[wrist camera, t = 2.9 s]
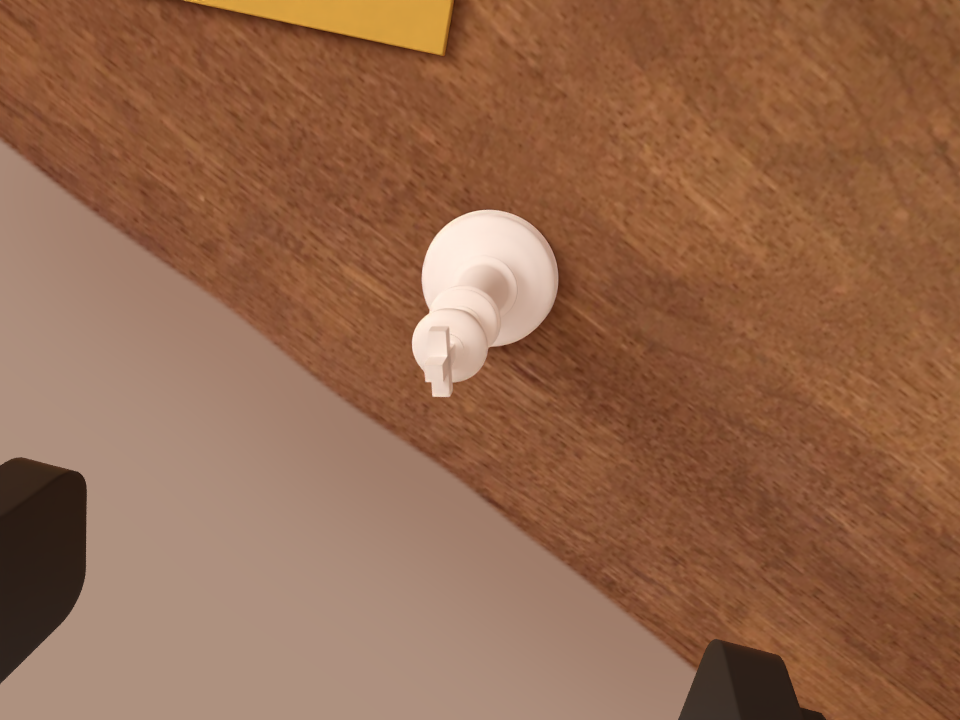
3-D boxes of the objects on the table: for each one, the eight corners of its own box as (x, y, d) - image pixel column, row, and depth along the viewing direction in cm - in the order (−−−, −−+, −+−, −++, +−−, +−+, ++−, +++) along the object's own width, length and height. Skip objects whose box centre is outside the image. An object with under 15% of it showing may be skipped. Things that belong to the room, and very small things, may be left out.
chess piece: (428, 343, 28) (343, 464, 19) (418, 211, 26) (321, 271, 17) (559, 343, 27) (540, 470, 18) (557, 207, 26) (536, 268, 16)
